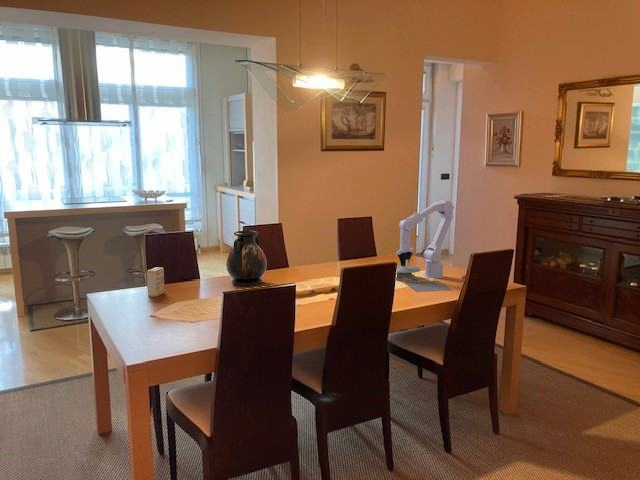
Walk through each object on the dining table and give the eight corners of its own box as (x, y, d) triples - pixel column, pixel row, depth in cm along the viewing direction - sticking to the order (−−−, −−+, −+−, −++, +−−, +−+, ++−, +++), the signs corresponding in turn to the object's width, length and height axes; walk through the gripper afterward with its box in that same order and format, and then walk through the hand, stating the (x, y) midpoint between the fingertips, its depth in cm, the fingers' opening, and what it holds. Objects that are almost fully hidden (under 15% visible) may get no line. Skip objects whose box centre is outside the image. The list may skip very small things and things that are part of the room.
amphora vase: (249, 290, 261) (248, 236, 256) (218, 285, 272) (216, 232, 267) (275, 281, 279) (274, 231, 274) (244, 277, 290) (243, 228, 286)
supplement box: (156, 297, 248) (155, 270, 246) (147, 296, 249) (146, 270, 247) (165, 292, 256) (164, 267, 254) (156, 292, 257) (155, 266, 255)
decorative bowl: (422, 279, 288) (398, 275, 297) (422, 272, 287) (398, 269, 296) (410, 284, 276) (385, 280, 285) (410, 277, 276) (385, 273, 284)
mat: (437, 281, 281) (437, 280, 281) (453, 290, 261) (453, 290, 261) (402, 283, 277) (402, 282, 277) (416, 292, 258) (416, 291, 258)
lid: (400, 266, 297) (400, 256, 297) (426, 269, 286) (426, 259, 285) (383, 270, 285) (383, 260, 284) (409, 274, 274) (409, 263, 273)
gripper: (404, 244, 275) (403, 268, 277) (418, 240, 286) (417, 264, 288) (393, 242, 280) (392, 266, 282) (407, 239, 290) (407, 262, 293)
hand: (404, 265), depth 285 cm, fingers closed on lid, 3 cm apart
